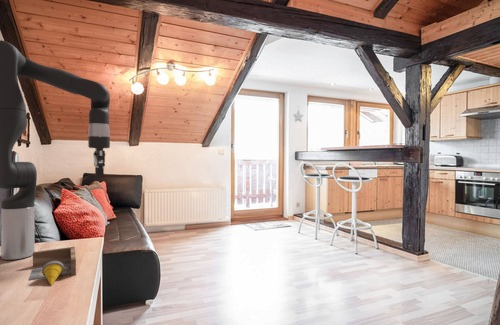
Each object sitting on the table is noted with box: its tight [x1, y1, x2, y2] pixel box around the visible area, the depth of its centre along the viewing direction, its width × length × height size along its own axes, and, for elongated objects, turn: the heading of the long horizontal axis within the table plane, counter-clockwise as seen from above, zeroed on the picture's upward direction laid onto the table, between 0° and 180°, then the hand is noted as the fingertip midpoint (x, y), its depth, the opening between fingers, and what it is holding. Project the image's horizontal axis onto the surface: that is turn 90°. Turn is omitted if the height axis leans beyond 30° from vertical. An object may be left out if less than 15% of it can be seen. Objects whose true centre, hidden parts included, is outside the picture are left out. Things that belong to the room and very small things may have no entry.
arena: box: [28, 246, 77, 281], centre depth 95 cm, size 15×12×5 cm
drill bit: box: [42, 261, 64, 286], centre depth 87 cm, size 5×5×10 cm
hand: (99, 177), depth 118 cm, fingers open, 8 cm apart
